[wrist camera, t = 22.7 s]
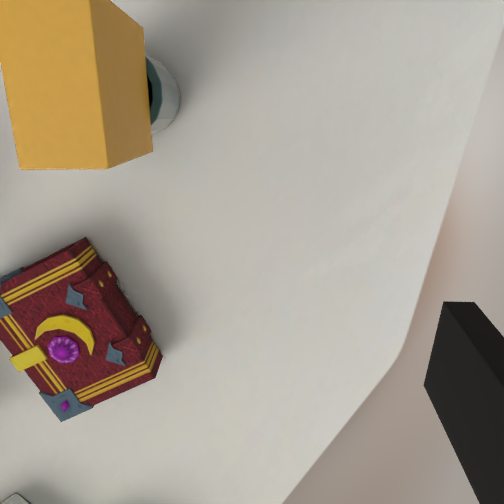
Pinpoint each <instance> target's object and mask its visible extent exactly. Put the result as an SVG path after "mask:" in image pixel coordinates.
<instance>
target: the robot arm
mask: <svg viewBox="0 0 504 504" xmlns="http://www.w3.org/2000/svg"><path fill="white" fill-rule="evenodd" d="M424 387H425V389H426V391H427V393H428V395H429V397H430V400H431V402H432V404H433V406H434V408H435V410H436V412H437V414H438V417H439V419H440V421H441V423H442V425H443V427H444V429H445V431H446V433H447V435H448V438H449V440H450V442H451V444H452V446H453V448H454V450H455V452H456V454H457V457H458V459H459V461H460V463H461V465H462V467H463V469H464V471H465V474H466V476H467V478H468V480H469V482H470V484H471V486H472V488H473V490H474V493H475V495H476V497H477V499H478V501H479V503H480V504H504V337H503V336H502V335H501V333H500V332H499V331H498V330H497V329H496V328H495V326H494V325H493V324H492V323H491V321H490V320H489V319H488V318H487V317H486V316H485V314H484V313H483V312H482V311H481V309H480V308H479V307H478V306H477V305H476V304H475V303H474V302H443V306H442V310H441V315H440V318H439V323H438V328H437V331H436V335H435V340H434V344H433V348H432V352H431V356H430V361H429V365H428V369H427V373H426V378H425V382H424Z"/></svg>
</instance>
